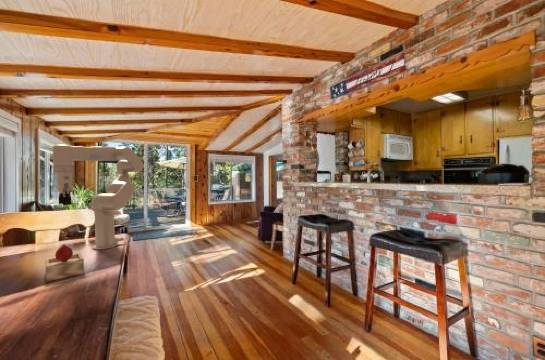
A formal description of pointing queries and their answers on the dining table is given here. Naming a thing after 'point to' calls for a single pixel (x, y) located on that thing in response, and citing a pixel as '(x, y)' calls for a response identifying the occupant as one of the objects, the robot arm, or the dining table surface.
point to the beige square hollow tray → (64, 267)
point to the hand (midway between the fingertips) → (65, 204)
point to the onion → (64, 253)
